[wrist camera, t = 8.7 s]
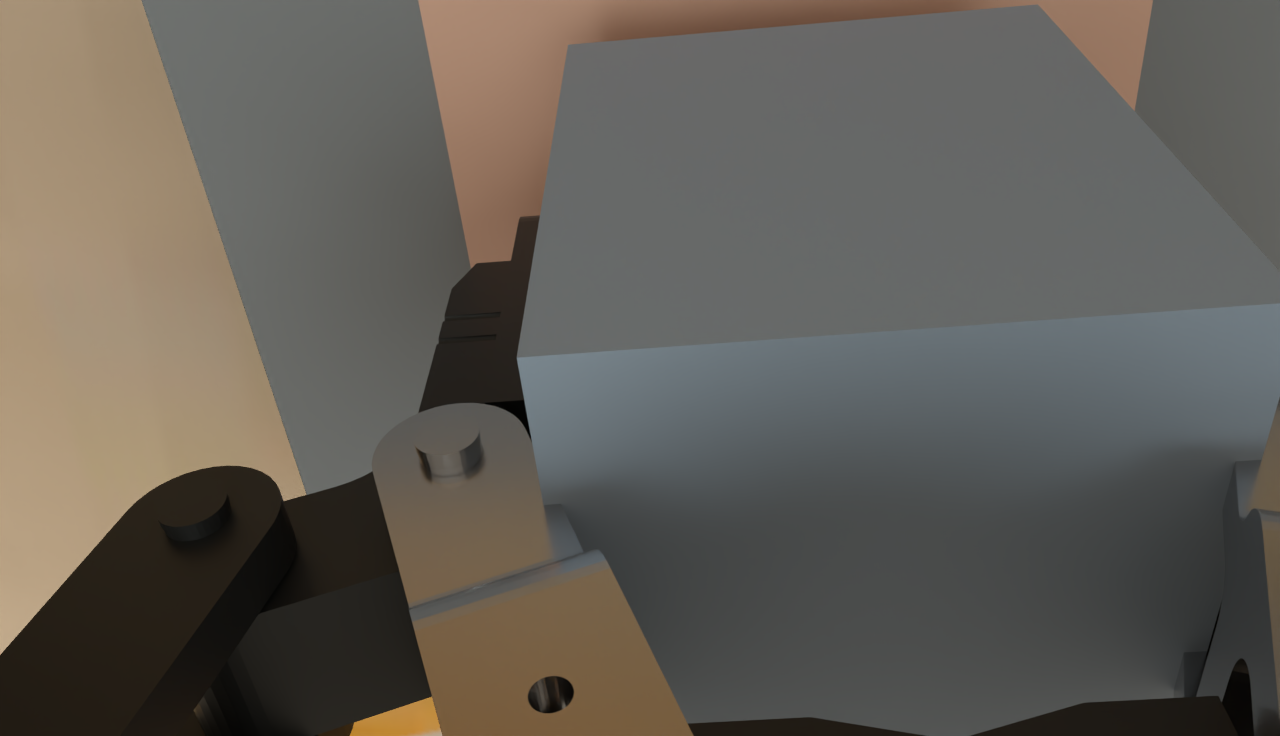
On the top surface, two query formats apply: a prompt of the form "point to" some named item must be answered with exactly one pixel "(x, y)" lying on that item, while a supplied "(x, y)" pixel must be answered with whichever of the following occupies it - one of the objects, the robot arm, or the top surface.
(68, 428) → the top surface
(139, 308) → the top surface
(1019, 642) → the slate block
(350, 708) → the robot arm
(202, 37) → the base plinth
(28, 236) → the top surface
